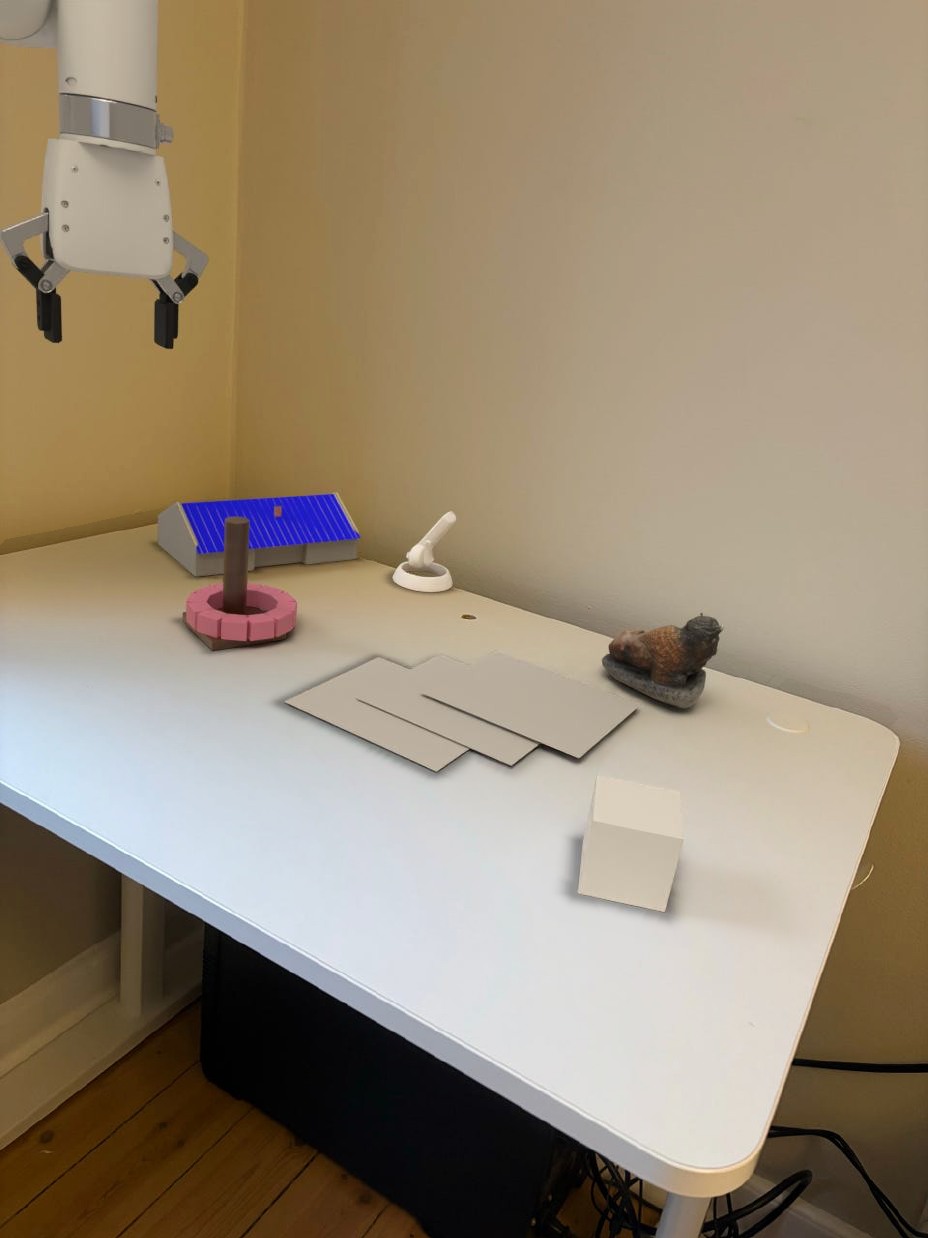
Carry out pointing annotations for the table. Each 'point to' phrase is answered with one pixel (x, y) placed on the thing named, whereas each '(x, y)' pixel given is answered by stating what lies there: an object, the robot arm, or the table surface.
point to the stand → (234, 582)
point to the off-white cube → (631, 843)
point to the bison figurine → (665, 659)
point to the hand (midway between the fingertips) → (110, 343)
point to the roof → (260, 531)
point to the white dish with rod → (426, 561)
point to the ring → (242, 626)
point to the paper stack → (466, 708)
